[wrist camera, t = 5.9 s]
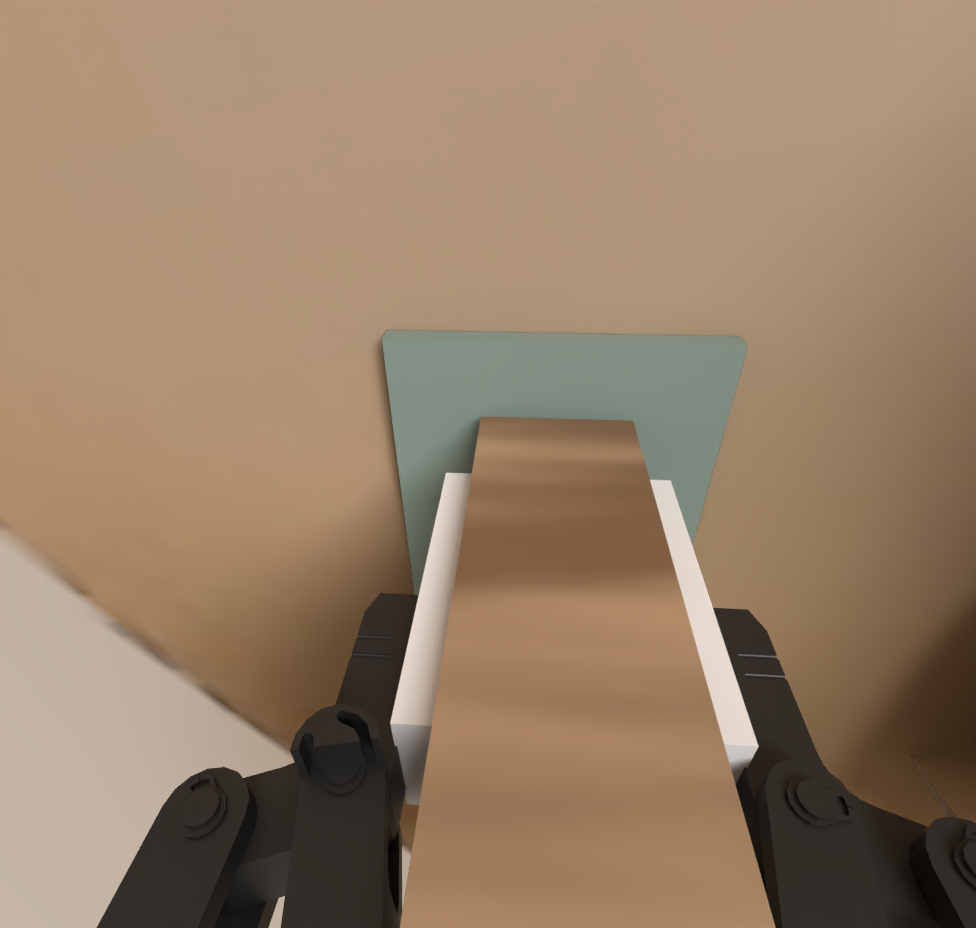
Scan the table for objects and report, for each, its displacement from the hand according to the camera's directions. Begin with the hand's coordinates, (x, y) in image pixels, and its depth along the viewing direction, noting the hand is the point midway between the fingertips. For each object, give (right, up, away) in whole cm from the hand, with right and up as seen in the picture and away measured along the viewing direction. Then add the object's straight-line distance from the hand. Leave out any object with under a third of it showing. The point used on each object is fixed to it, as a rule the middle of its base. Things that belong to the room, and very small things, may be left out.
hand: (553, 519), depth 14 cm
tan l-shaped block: (0, -2, +3) cm, 4 cm away
